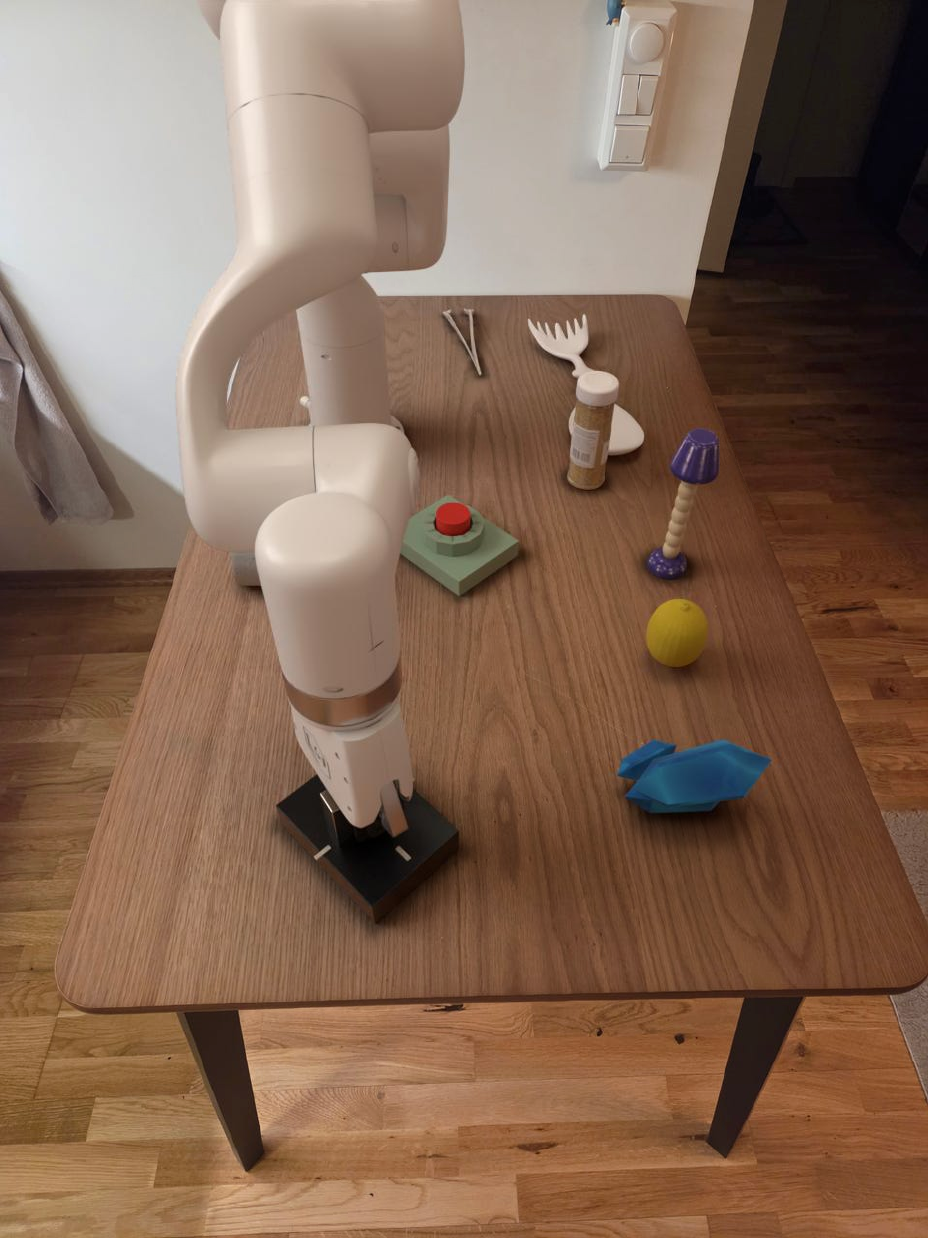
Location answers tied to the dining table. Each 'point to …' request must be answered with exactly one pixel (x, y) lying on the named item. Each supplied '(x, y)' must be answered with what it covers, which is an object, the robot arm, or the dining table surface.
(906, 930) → the dining table surface
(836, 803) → the dining table surface
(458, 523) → the red button
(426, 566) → the button block
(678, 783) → the crystal
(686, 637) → the lemon
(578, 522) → the dining table surface
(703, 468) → the toy lamp
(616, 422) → the white salad fork spoon
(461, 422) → the dining table surface
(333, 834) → the silver block red tip
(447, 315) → the tweezers
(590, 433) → the sprinkles bottle
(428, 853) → the knob panel
